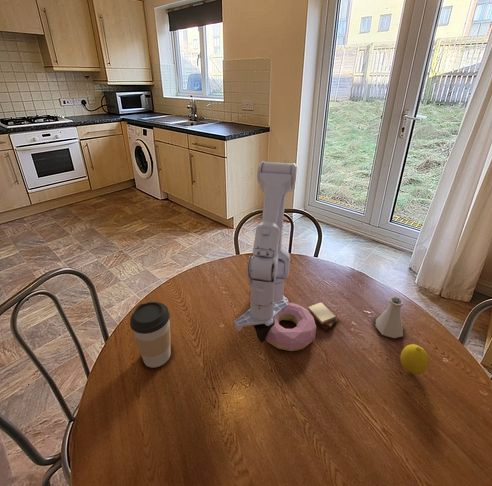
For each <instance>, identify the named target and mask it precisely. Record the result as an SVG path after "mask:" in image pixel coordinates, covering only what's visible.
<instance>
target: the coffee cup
mask: <svg viewBox="0 0 492 486" xmlns="http://www.w3.org/2000/svg"><path fill="white" fill-rule="evenodd" d="M170 317H171V313H170V311H169V308H168V307H167V306H166V305H165V304H164V303H161V302H158V301H149V302H145V303H141V304H139V305H137V307H135V310H134V311H133V313H132V314H131V316H130V319H129V325H130V328H131V330H132V333H133V337H134V340H135V342H136V345H137V348H138V351H139V353H140V354H141V358H142V361H143V363H144V365H145V367H148V368H152V369H153V368H158V367H161V366H163V365H165V364H166V363H167V362H168V360H169V359H170V357H171V354H172V351H171V350H172V349H171V348H172V347H171V342H172V337H171V320H170Z"/></svg>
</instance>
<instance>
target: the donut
mask: <svg viewBox="0 0 492 486" xmlns="http://www.w3.org/2000/svg"><path fill="white" fill-rule="evenodd" d="M286 303H287V304H288V306H287V311H283V310H282V311H281V312H280V313H279V314H278V315H277V316H276V317H275V318H274V320H275V324H274V326H272V328H271V329H270V330H269V332H268V334H267V337H266V339H265V341H266V342H267V343H269V344H270V345H272V346H273V347H275V348H277V349H279V350H284V351H289V352H294V351H299V350H304V349H305V348H306V347H308V346H309V344H311V343H312V342H313V341H314V340H315V339H316V336H317V335H316V333H317V324H316V323H315V321H314V317H313V316H312V315H311V314H310V313H309V310H308V309H307V308H305V307H303V306H302V305H300V304H298V303H294V302H290V301H289V302H286ZM281 321H291V322H292V323H294V324H295V325H296V326H295V327H293V328H285V327H283V326H282V325H281V324H280V322H281Z"/></svg>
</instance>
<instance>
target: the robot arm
mask: <svg viewBox="0 0 492 486" xmlns="http://www.w3.org/2000/svg"><path fill="white" fill-rule="evenodd" d="M297 172H298V166H297V164H296V163H295V162H292V163H290V162H275V161H274V162H272V161H271V162H270V161H260V162H259V164H258V167H257V173H256V174H257V175H256V179H257V183H258V184H259V188H260V190H261V191H262V192H263V203H262V204H263V206H262V218H261V219H262V220H261V222H260V223H259V224H258V225H257V226H256V228H255V234H254V241H253V248H252V253H251V255H249V258H248V260H247V269H246V274H247V279H248V285H249V287H250V288H249V289H250V291H249V292H250V294H249V295H250V296H249V297H250V299H249V303H250V307H249V309H248V310H247V311H245V312H244V313H242V315H241V316H239V317H238V318H236V319H234V321H233V326H234V328H235V330H236V331H237V332H241V331H242V330H243V328H244V327H248V326H253V328H254V331H255V334H256V338H257V339H258V341H259V342H260V343H263V342H265V341H266V337H267V334H268V332H269V330H270V329H271V328H272V326H274V324H275V320H274V318H275V317H276V316H277V315H278V314H279V313H280V312H281V311H282V310H283V311H287V306H288V304H287V303H286V302H289V303H290V301H289V299H288V298H287V297H286V296H285V295H284V289H285V288H284V287H285V280H287V279H288V278H289V276H290V267H291V255H290V252H289V251H288V250H286V249H285V248H284V247H283V232H284V218H285V209H286V207H285V206H286V198H287V196H288V194H290V193H293V192H295V189H296V183H297V174H298V173H297Z"/></svg>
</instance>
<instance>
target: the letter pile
mask: <svg viewBox="0 0 492 486" xmlns="http://www.w3.org/2000/svg"><path fill="white" fill-rule="evenodd" d="M307 310H308V311H309V313H310V314H311V315H312V316H313V317H314V321H315V324H316V325H317V326H319V327H320V328H322V330H324V331H328V330H329V329H332V326H333V325H335V324H336V323H337V322H338V319H337V314H336V313H333V312H332V311H331V310H330V309H329V308H328V307H327V306H326V305H325V304H324V303H323V302H322V301H321V302H318V303H315V304H312V305H309V306H308V307H307Z"/></svg>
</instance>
